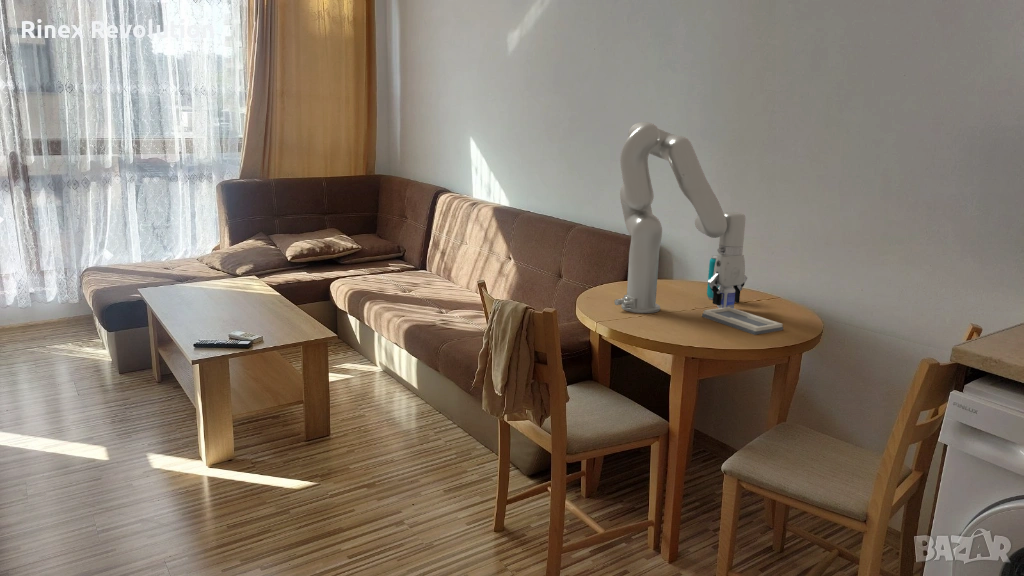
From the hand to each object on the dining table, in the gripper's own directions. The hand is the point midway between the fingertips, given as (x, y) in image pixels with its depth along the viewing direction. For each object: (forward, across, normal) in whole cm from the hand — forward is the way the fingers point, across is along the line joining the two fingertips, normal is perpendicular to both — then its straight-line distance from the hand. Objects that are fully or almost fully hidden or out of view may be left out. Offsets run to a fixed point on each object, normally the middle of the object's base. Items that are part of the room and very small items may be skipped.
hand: (725, 302), depth 246 cm
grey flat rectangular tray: (+2, -7, -14) cm, 16 cm away
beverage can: (+3, +8, +13) cm, 15 cm away
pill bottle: (+3, 0, 0) cm, 3 cm away
